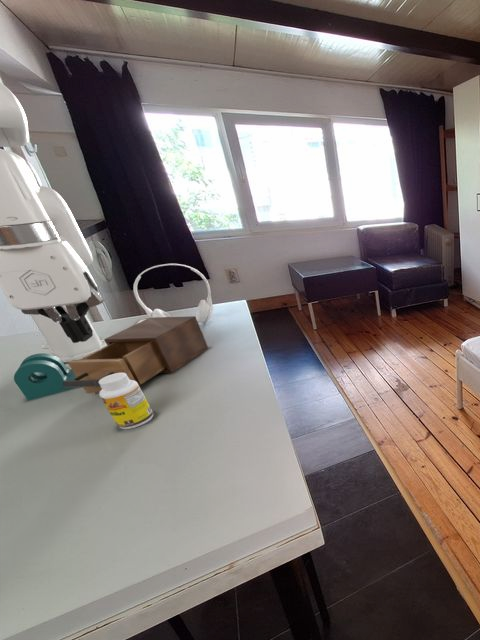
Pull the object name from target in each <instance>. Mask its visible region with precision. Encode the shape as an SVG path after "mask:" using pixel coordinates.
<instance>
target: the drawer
mask: <svg viewBox="0 0 480 640" xmlns="http://www.w3.org/2000/svg"><path fill="white" fill-rule="evenodd" d="M67 365H68V366H69V367H70V370H71V369H72V371H73V372H74V374H75V375H76V378H74V379H72V380H70V381H64V382H63V383H62V386H63V387H76V388H83V390H84V392H85V393H86V394H95V393H96V394H97V393H98V394H99V393H100V391H101V390H102V388H101V386H100V384H99V380H101V379H102V378H104V377H106V376H108V375H111V374H115V373H126V375H127V376H128V378H129V379H130V380H134V381H136V382H137V383H138V385H139V386H140V385H143V384H145V383H146V382H147V381H148V380H151V379H152V378H153V377H155V376H156V375H158V374H160V373H159V372H161V371H162V370H164V369H165V368H166V366H165V364H164V361H163V359H162V357H161V355H160V353H159V351H158V349H157V347H156V345H155V343H154V341H132V342H113V343H111V344H109V345H107V346H105V347H103V348H101V349H99V350H97V351H95V352H93V353H91V354H89V355H87V356H85V357H83V359H80V360H72V361H70V362H67Z"/></svg>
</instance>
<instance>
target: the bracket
mask: <svg viewBox="0 0 480 640" xmlns="http://www.w3.org/2000/svg"><path fill="white" fill-rule="evenodd" d="M74 378H76V375H75V374H74V372H73V371H72V369H71V368H70V369H69V368H68V367H67V366H66V364H65V363H63V361H62V360H61V359H60V358H58V357H57V356H54V355H51V353H35V354H31V355H29V356H27V357H25V359H23V360H22V361H21V363H20V365H19V366H18V368H17V370H16V371H15V373H14V375H13V381H14V383H15V385H16V386H17V387H18V389H19V391H20V392H21V393H22V394H23V396H24V397H25V399H26V400H27V401H31V400H35V399H40V398H43V397H47V396H50V395H54V394H57V393H61V392H65V391H68V390H71V389H76V388H77V387H63V386H62V383H63V382H64V381H70V380H72V379H74Z"/></svg>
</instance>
